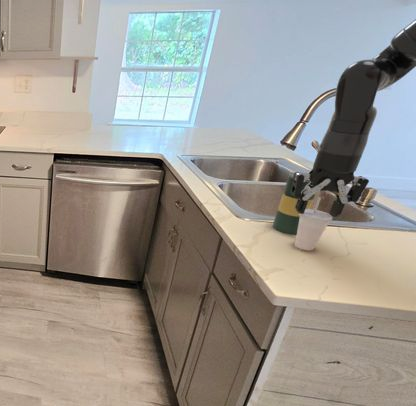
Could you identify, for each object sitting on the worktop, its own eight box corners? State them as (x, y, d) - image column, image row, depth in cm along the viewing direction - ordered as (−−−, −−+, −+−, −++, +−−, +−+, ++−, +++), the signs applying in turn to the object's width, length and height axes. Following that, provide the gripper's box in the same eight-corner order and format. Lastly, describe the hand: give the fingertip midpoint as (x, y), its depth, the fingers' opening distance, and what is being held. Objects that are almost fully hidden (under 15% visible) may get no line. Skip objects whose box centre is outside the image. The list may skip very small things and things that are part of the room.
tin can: (306, 231, 104) (327, 177, 97) (293, 236, 101) (313, 182, 95) (279, 221, 110) (297, 170, 103) (266, 226, 107) (283, 174, 100)
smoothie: (302, 239, 99) (319, 192, 94) (326, 251, 94) (346, 201, 88) (282, 242, 99) (298, 194, 93) (305, 254, 93) (324, 204, 87)
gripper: (310, 152, 85) (288, 217, 91) (390, 156, 80) (361, 223, 87) (296, 144, 91) (276, 205, 98) (369, 147, 87) (343, 211, 93)
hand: (316, 213), depth 92 cm, fingers closed on smoothie, 6 cm apart
